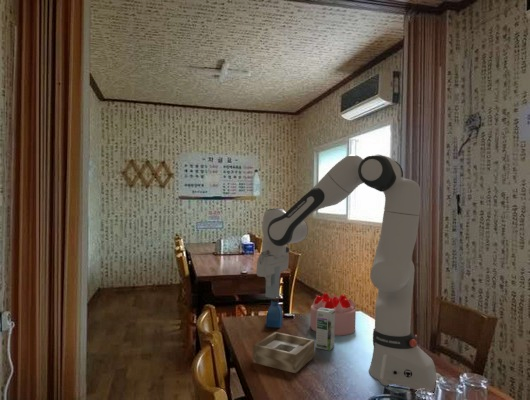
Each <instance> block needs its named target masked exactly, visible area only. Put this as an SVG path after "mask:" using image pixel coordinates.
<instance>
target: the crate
mask: <svg viewBox="0 0 530 400" xmlns="http://www.w3.org/2000/svg"><path fill="white" fill-rule="evenodd" d="M315 345H316V339H311V338H307V337H301V336H297V335H292V334H288V333H283V332H278V331H274V332H273V333H271V334H269V335H268V336H266V337H265V338H263V339H261V340H260V341H258V342H255V344H253V350H252V351H253V353H252V355H253V356H252V359H253V361H252V362H253V363H254V364H258V365H260V366H261V365H262V366H265V367H270V368H273V369H278V370H281V371H284V372H289V373H293V374H297V373H298V372H299V371H300V370H301V369H302V368H303V367H305V365H306V364H308V363H309V362H310V361H311V360H312V359H313V358H315Z"/></svg>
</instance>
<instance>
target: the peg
mask: <svg viewBox="0 0 530 400" xmlns="http://www.w3.org/2000/svg"><path fill="white" fill-rule="evenodd" d="M280 279H281V275H280V266H277V267H275V273H274V274H272V275H271V281H272V286H267V281H266V280H265V298H269V299H272V298H279V297H280V282H281V281H280Z"/></svg>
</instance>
